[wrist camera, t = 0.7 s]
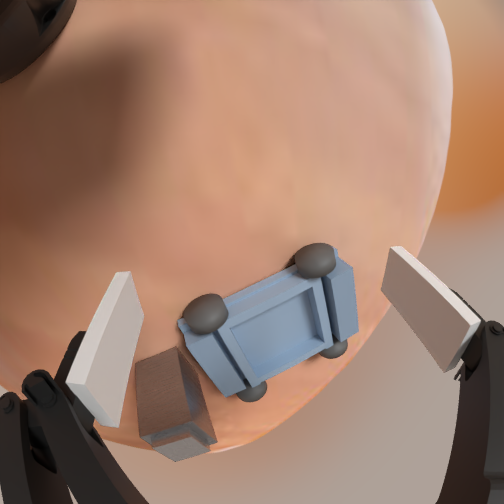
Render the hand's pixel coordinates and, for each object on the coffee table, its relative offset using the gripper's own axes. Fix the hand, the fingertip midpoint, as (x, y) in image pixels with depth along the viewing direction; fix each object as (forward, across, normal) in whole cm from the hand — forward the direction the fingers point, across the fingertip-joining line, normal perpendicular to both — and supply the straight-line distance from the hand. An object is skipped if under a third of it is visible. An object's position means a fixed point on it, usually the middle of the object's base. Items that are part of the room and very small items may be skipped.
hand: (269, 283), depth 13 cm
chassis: (+15, +3, -16) cm, 22 cm away
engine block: (+12, -11, -20) cm, 26 cm away
